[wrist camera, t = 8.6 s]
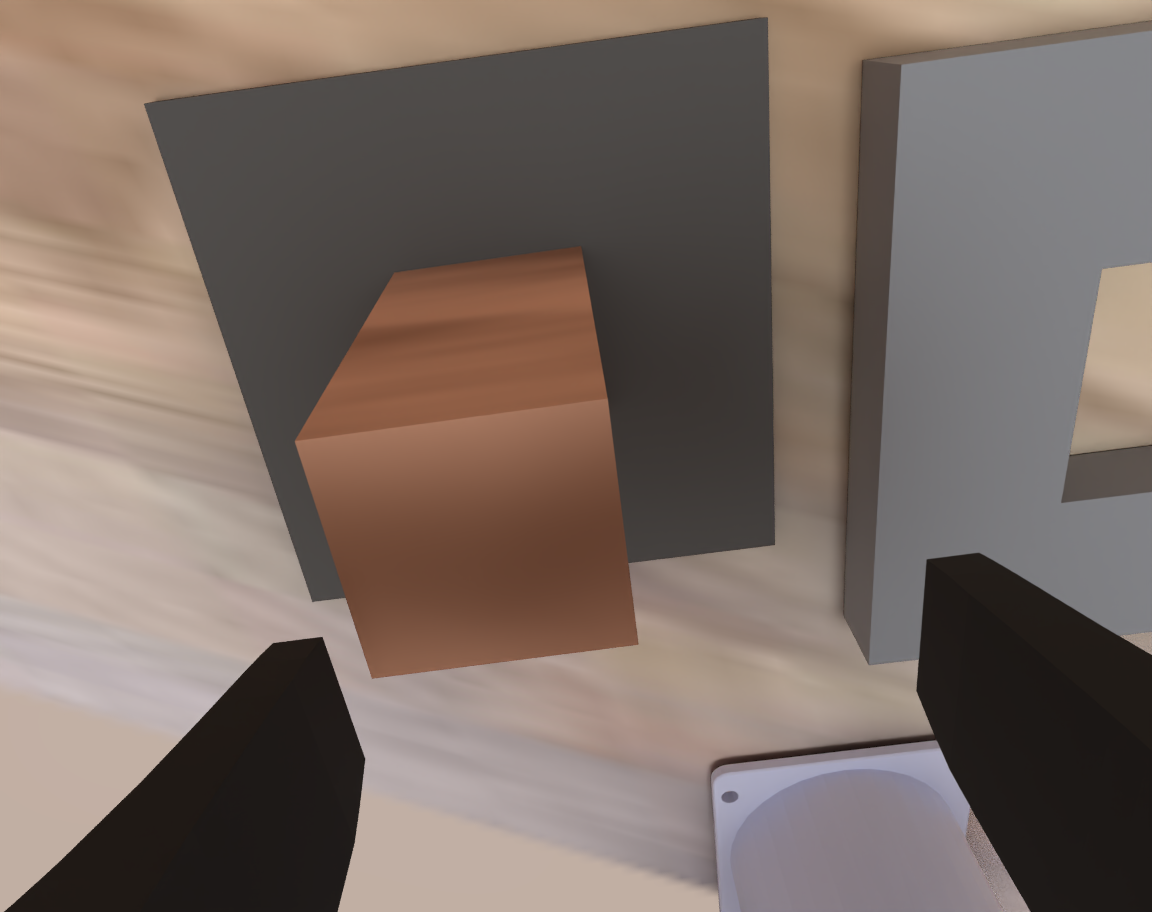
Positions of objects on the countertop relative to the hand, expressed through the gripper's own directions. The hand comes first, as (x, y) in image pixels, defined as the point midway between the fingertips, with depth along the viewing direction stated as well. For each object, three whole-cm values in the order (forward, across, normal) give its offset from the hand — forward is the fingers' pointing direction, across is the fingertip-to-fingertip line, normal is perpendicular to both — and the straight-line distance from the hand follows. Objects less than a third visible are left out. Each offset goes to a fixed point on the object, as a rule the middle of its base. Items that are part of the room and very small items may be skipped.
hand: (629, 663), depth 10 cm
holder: (+10, -13, +2) cm, 17 cm away
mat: (+10, +2, 0) cm, 10 cm away
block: (+10, +2, -1) cm, 10 cm away
